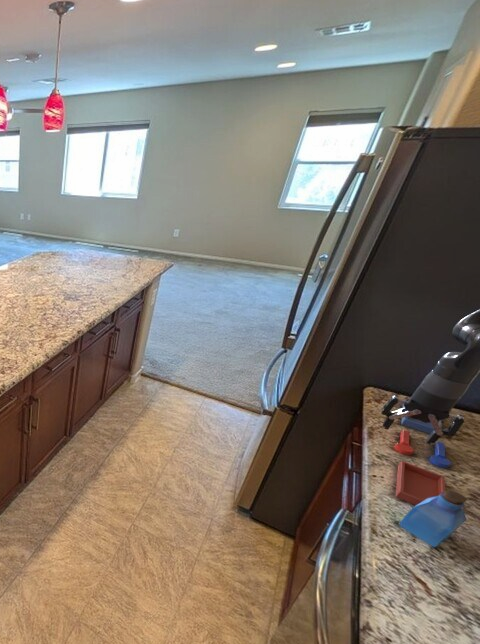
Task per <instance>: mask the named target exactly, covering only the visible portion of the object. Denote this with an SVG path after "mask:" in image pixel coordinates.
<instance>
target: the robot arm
mask: <svg viewBox="0 0 480 644" xmlns="http://www.w3.org/2000/svg"><path fill="white" fill-rule="evenodd" d="M451 331H452V332H451V334H452V337H453V339H455V340H456V341H457V342H459V343H460V344H462V345H463V346H465V347H466V348H465V350H463V351H462V352H460V351H450V352H447V353H444V354H443V355H442V357H440V359H439V360H438V362H437V363H436V364H435V366H433V368H432V370H431V371H430V372H429V373H428V374H427V375H425V377H424V378H423V380H422V381H421V383H420V384H419V385H418V386H417V388H416V389H415V391H414V392H413V393H412V395H411V396H410V397H409V398H408V400H406V399H404V398H401V397H399V395H396V394H394V395H392V396H391V397H390V398H389V400H388V401H387V402H386V403H385V405H383V407H382V408H381V412H380V413H381V415H382V416H386V418H385V419H384V421H383V422H382V426H383V429H384V430H389V429H390V427H391V426H392V425H393V423H394V422H395V420H397V419H402V418H404V417H408V416H410V417H411V418H413V419H417V420H420V421H422V422H425V423H427V422H428V423H431V424H432V426H433V428H434V430H433V432H432V433H431V434H429V435H428V436H427V438H426V439H425V444H427V445H432V444H436V443H437V442H438V441H439V439H440V438H441V436H447V437H449V438H453V437H455V436H456V434H457V433H458V431H459V430H460V429H461V427H462V425H463V424H464V423H465V417H464V415H463V414H452V413H450V412H451V411H452V410H453V408H454V407H455V406H456V404H457V403H458V402H459V401H460V400H461V399H462V397H464V396H465V394H466V392H467V391H468V389H469V388H470V385H471V384H472V382H473V381H474V380H475V379H476V378H477V376H478V375H479V374H480V309H478V310H476V311H474V312H472V313H470V314H468V315H467V316H465V317H463V318H462V319H460V320H459V321H458V322H457V323H456V324H455V325H454V327H453V328H452V330H451ZM403 404H404V406H405V408H402V407H401V408H399V409H397V410H393V411H391V410H392V409H393V408H394V407H395V406H400V405H403ZM447 419H449V422H450V424H449V426H448V427H447V428H443V425H442V426H441V424H440V421H439V420H442V421H443V420H447Z"/></svg>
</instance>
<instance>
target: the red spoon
mask: <svg viewBox="0 0 480 644" xmlns="http://www.w3.org/2000/svg"><path fill="white" fill-rule="evenodd" d="M399 437H400V438H399V442H397V443H395V444H394V446H393V449H394V451H397V452H398V453H400V454H403V455H406V456H410V455H412V454H413V453H414V451H415V449H414V448H413V447H412V446H410V430H409V431H408V430H406V429H403V430H402V431H401V432H400V436H399Z"/></svg>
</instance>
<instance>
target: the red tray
mask: <svg viewBox="0 0 480 644" xmlns="http://www.w3.org/2000/svg"><path fill="white" fill-rule="evenodd" d="M445 478H446V477H445V475H442V474H439V473H436V472H434V471H431V470H428V469H425V468H423V467H420V466H418V465H415V464H412V463H409V462H406V461H404V460H401V461H400V462H399V464H398V465H397V474H396V487H395V498H397V499H399V500H402V501H404V502H407V503H409V504H411V505H414V506H416V505H418V504H419V503H421V502H422V501H424V500H425V499H427V498H430V497H436V496H439V495H440V494H441V493H444V491H445V490H446V479H445Z"/></svg>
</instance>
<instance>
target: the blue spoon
mask: <svg viewBox="0 0 480 644" xmlns="http://www.w3.org/2000/svg"><path fill="white" fill-rule="evenodd" d="M445 445H446V444H445V443H444V442H442V441H439V440H437V441H436V442H435V443H434V454H432V455H431V456H430V458H429V462H430V463H431V464H432V465H434V466H436V467H439V468H441V469H448V468H449V467H450V466H451V465H452V462H451V461H450V460H449V459H448V458H446V446H445Z"/></svg>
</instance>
